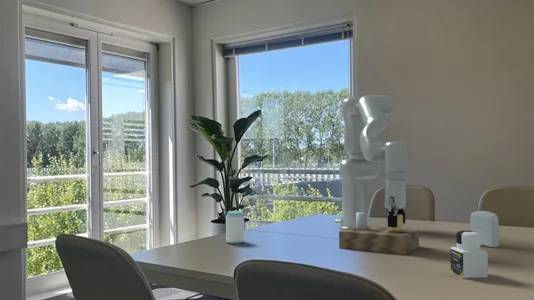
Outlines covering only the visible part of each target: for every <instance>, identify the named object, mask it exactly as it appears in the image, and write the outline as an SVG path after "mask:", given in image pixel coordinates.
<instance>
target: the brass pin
mask: <svg viewBox="0 0 534 300" xmlns="http://www.w3.org/2000/svg"><path fill="white" fill-rule="evenodd" d="M396 216H397V227H396V228H394V227H390V228H391V233H400V234H403V229H404V224H403V215H402V214H396Z"/></svg>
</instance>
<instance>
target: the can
mask: <svg viewBox="0 0 534 300" xmlns="http://www.w3.org/2000/svg"><path fill="white" fill-rule="evenodd" d="M225 241H226V242H227V243H228V244H231V245H232V244H233V245H235V244H236V245H237V244H242V243H243V242H245V215H244V213H243V211H241V210H229V211H227V212H226V215H225Z"/></svg>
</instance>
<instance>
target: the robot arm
mask: <svg viewBox="0 0 534 300" xmlns="http://www.w3.org/2000/svg"><path fill="white" fill-rule="evenodd" d="M395 108H396V105H395V101H394V99H393V97H391V96H390V95H386V94H369V95H368V94H367V95H363V96H349V97H345V98H344V99H343V101H342V104H341V114H342V118H343V122H344V137H343V144H344V145H343V150H344V153H345V154H346V155H348V156H363V157H350V158H349V157H348V158H345V159H343V160H341V162H340V163H339V173H340V178H341V179H340V180H341V192H342V193H341V195H342V199H341V200H342V201H341V203H342V207H341V208H342V217H341V218H335V219H334V223H335V224H340V225H338V227H339V229H340V230H344V229H347V228H350V227H352V226H355V225H356V213H357V212H365V199H364V198H365V193H364V187H363V186H362V184H361V183H360V181H359V180H371V179H372V180H374V179H375V178H377V177H378V176H379V173H380V172H379V171H380V163H384V181H385V194H384V208H385V209H386V210H387V213H386V214H387V228H391V227H394V228H396V227H397V216H396V214H402V215H403V225H405V224H406V209H405V208H406V205H407V203H406V202H407V200H406V199H407V197H406V196H407V195H406V194H407V193H406V191H407V190H406V182H407V181H408V164H407V163H408V159H407V158H408V155H407V154H408V153H407V152H408V150H407V144H406V142H405V141H385V140H384V141H380V139H379V137H378V136H377V135H378V134H380V133H382V132H383V131H384V130H385V129H386V128H387V126H388V120H387V117H389V116H392V114H394V112H395Z"/></svg>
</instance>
